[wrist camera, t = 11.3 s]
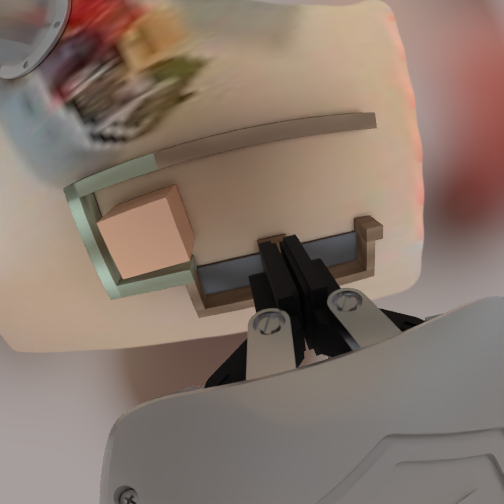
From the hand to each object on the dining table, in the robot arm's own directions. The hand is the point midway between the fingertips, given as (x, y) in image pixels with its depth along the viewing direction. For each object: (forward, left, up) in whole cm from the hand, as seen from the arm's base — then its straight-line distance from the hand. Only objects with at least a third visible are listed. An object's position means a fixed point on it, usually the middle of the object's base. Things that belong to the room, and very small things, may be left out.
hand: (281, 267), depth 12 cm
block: (+1, -10, -16) cm, 19 cm away
